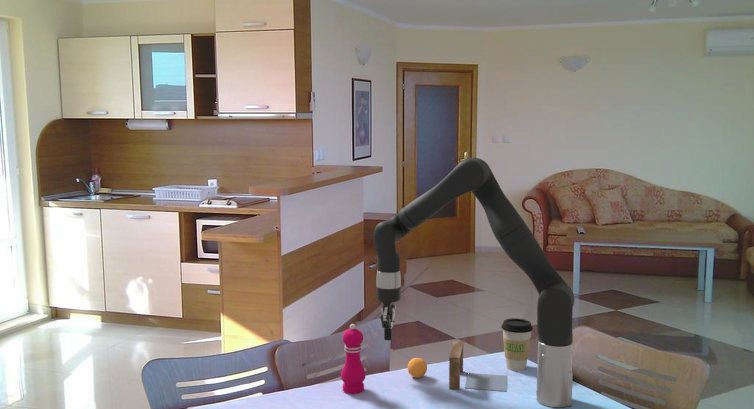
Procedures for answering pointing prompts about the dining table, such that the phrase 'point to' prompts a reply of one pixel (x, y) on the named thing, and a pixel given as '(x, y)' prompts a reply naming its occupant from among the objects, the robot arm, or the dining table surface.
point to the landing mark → (486, 382)
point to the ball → (417, 367)
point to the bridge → (455, 365)
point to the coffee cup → (516, 342)
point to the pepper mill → (353, 362)
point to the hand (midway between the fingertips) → (388, 339)
